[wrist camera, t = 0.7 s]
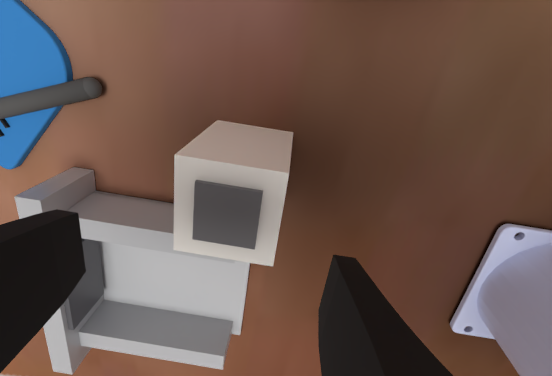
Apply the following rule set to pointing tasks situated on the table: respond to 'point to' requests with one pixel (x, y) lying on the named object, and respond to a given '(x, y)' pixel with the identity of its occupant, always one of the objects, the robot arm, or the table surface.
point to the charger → (231, 192)
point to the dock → (137, 281)
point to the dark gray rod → (49, 97)
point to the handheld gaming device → (27, 76)
